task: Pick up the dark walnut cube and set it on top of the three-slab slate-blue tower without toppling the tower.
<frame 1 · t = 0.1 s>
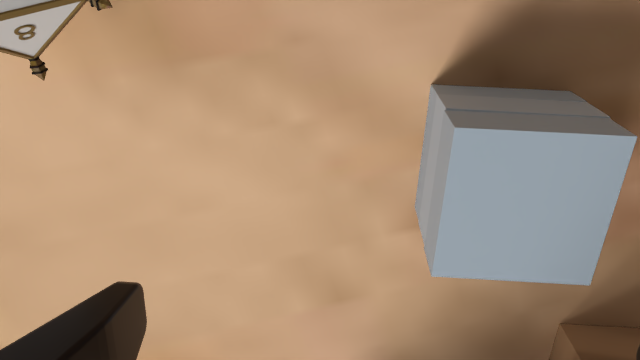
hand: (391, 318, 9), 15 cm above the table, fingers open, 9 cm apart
slab bottom: (486, 149, 23), on the table, touching slab middle
slab middle: (497, 166, 22), point 2 cm above the table, touching slab bottom, slab top
slab top: (510, 187, 20), point 4 cm above the table, touching slab middle
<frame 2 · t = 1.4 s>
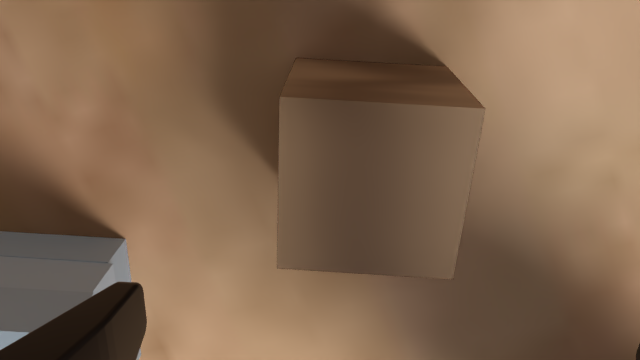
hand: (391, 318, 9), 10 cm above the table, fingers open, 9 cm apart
slab bottom: (67, 290, 22), on the table, touching slab middle
slab middle: (45, 322, 20), point 2 cm above the table, touching slab bottom, slab top
slab top: (21, 356, 18), point 4 cm above the table, touching slab middle
walnut cube: (364, 132, 18), on the table
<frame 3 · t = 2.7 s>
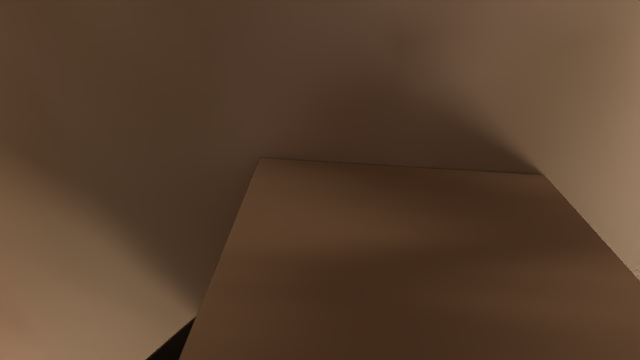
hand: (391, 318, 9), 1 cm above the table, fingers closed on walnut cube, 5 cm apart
walnut cube: (386, 283, 10), on the table, touching gripper
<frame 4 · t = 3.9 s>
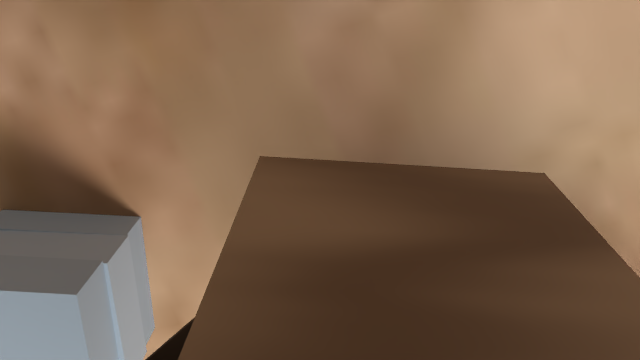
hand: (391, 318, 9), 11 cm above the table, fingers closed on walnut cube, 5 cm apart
slab bottom: (87, 266, 23), on the table, touching slab middle
slab middle: (68, 293, 21), point 1 cm above the table, touching slab bottom, slab top
slab top: (37, 321, 20), point 3 cm above the table, touching slab middle
walnut cube: (386, 281, 10), point 10 cm above the table, touching gripper
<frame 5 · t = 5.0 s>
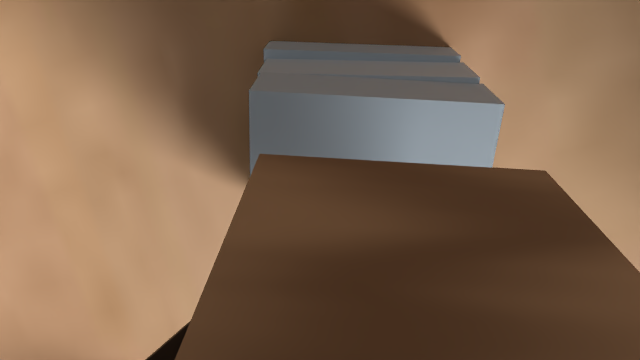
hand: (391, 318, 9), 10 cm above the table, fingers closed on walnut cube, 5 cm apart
slab bottom: (354, 125, 18), on the table, touching slab middle
slab middle: (360, 151, 17), point 1 cm above the table, touching slab bottom
slab top: (362, 178, 15), point 3 cm above the table
walnut cube: (387, 280, 10), point 9 cm above the table, touching gripper
when the fingers open (8 cm above the table, at t = 5.7 s): walnut cube drops 1 cm, resting on slab top.
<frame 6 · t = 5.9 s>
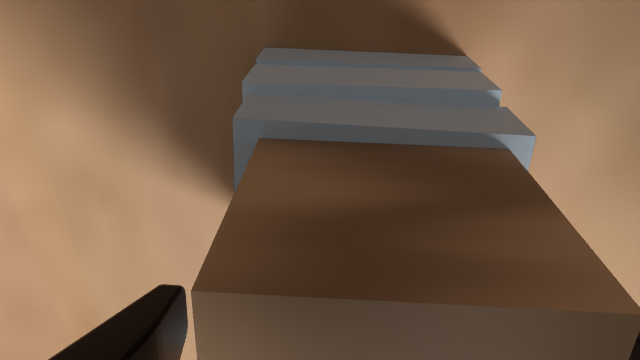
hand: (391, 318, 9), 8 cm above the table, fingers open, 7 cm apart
slab bottom: (358, 143, 16), on the table, touching slab middle
slab middle: (360, 170, 15), point 2 cm above the table, touching slab bottom, slab top
slab top: (366, 212, 13), point 4 cm above the table, touching slab middle, walnut cube
walnut cube: (374, 249, 11), point 6 cm above the table, touching slab top
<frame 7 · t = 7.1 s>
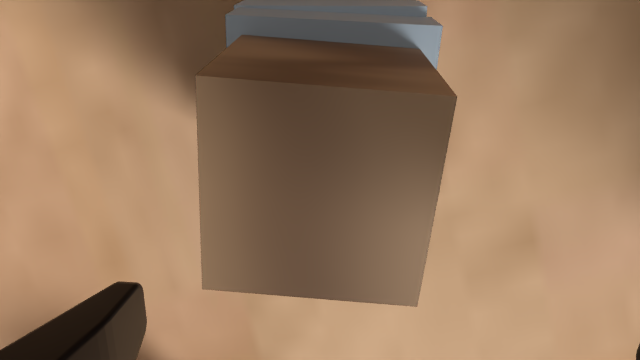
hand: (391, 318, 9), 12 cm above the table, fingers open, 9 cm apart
slab middle: (330, 85, 19), point 1 cm above the table, touching slab bottom, slab top
slab top: (329, 105, 17), point 3 cm above the table, touching slab middle, walnut cube
walnut cube: (324, 126, 15), point 5 cm above the table, touching slab top
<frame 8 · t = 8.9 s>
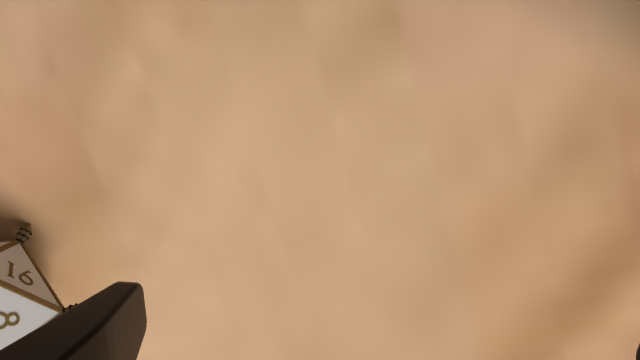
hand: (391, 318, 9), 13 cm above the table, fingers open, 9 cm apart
game die: (20, 270, 25), on the table
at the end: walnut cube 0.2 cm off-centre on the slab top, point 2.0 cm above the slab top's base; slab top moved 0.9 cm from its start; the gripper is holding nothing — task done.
